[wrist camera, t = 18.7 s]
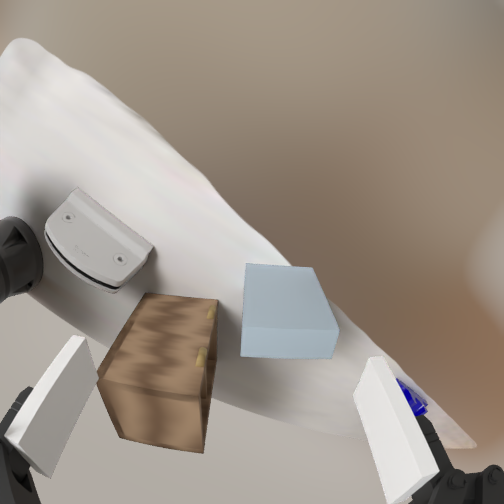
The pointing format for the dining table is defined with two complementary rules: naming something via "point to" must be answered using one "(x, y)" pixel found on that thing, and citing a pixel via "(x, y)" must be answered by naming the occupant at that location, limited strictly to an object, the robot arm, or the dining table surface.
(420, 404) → the mounting bracket
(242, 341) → the upright grey-blue slab
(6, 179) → the dining table surface
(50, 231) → the white rounded housing
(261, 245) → the dining table surface
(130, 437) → the cabinet
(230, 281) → the dining table surface
